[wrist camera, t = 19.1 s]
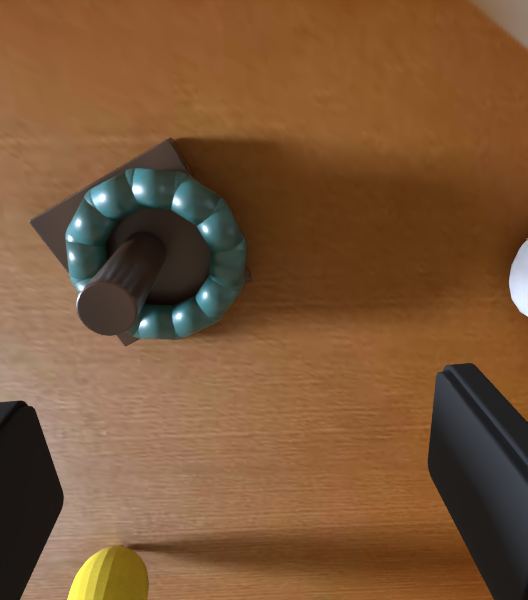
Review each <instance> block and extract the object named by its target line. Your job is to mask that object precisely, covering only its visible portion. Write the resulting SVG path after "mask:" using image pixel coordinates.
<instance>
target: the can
mask: <svg viewBox="0 0 528 600" xmlns="http://www.w3.org/2000/svg"><path fill="white" fill-rule="evenodd" d="M509 287H510V292H511V297H512V300H513V302H514V303H515V305H516V306H517V308H518V309H519V311H520V312H522V313H523V314H524V315H526V316H527V317H528V239H527V240H526V241H525V242H524V244H523V245H522V246H521V247H520V249H519V251H518V253H517V255H516V257H515V259H514V261H513V264H512V266H511V272H510V279H509Z"/></svg>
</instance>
